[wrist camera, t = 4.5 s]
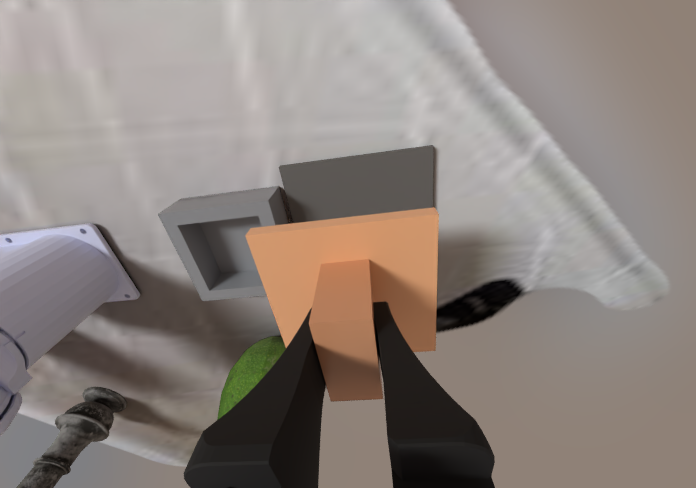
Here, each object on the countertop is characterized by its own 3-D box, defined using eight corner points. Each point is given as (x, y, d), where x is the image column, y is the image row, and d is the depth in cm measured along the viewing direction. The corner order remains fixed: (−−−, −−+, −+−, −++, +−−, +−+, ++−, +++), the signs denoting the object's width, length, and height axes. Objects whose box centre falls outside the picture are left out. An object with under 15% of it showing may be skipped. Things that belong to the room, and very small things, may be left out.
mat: (310, 283, 26) (309, 286, 26) (280, 165, 21) (278, 167, 20) (430, 272, 25) (431, 275, 25) (432, 145, 20) (433, 146, 19)
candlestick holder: (84, 406, 37) (-21, 531, 27) (77, 381, 35) (-42, 509, 24) (130, 415, 38) (45, 540, 28) (127, 391, 35) (32, 519, 25)
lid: (295, 337, 19) (273, 427, 14) (256, 219, 15) (205, 289, 10) (428, 328, 18) (455, 420, 13) (429, 199, 14) (469, 265, 9)
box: (217, 279, 26) (202, 301, 24) (181, 198, 22) (157, 214, 20) (301, 271, 25) (295, 292, 23) (278, 186, 21) (268, 200, 19)
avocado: (255, 309, 28) (195, 444, 17) (328, 334, 29) (313, 472, 19) (237, 357, 32) (178, 492, 21) (302, 376, 33) (277, 512, 23)
